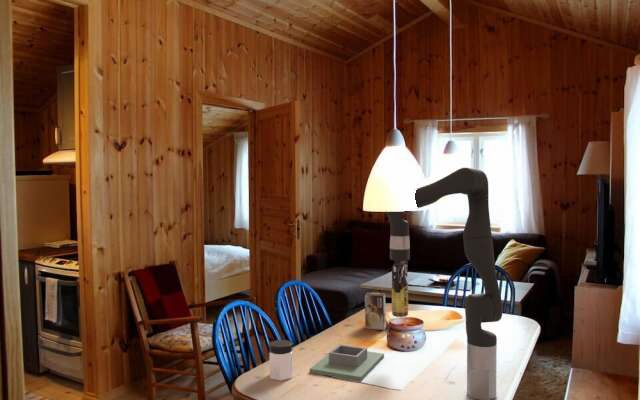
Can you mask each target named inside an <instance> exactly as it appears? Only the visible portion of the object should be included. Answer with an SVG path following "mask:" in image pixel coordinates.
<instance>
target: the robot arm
mask: <svg viewBox="0 0 640 400" xmlns="http://www.w3.org/2000/svg"><path fill="white" fill-rule="evenodd" d="M416 189H417V190H416V193H415V200H416V204H417V207H418V208H417V209H420V208H424V207H426V206H427V207H428V206H430V205H432V204H434V203H436V202H438V201H439V200H440V199H442V198H443V197H446V196H451V195H458V194H462V195H466V196H467V203H468V214H467V215H468V216H467V219H466V221H465V222H466V223H465V225H464V229H463V233H462V234H463V239H462V241H463V248H464V254H465V256H466V258H467V260H468V262H469V263H470V264H471V266H472V267H473V268H474V269H475V271H476V272H477V273H478V276H479V278H480V279H481V281H482V284H483V289H484V292H483V293H471V294H468V295H467V296H466V299H465V302H464V313H465V314H464V315H465V317H464V318H465V333H466V394H467V395H468V396H469V399H474V400H494V399H496V397H497V350H498V349H497V344H498V343H497V342H498V340H497V339H498V338H497V335H496V334H495V333H494V332H493V331H492V332H491V331H490V330H487V329H484V328H483V327H482V323H496V322H499V321H501V319H502V317H503V301H502V297H501V296H502V295H501V292H500V286H499V283H498V276H497V269H496V263H495V253H494V242H493V236H492V235H493V233H492V228H491V227H492V226H491V218H490V217H491V216H490V206H489V205H490V204H489V179H488V177H487V174H486V173H485V172H484V171H483V170H481V169H477V168H474V167H469V166H465V167H461V168H458V169H457V170H454V171H453V172H452V173H450V174H448V175H446V176H445V177H442V178H440V179H438V180H436V181H435V182H432V183H429V184H427V185H423V186H421V187H418V188H416ZM386 212H387V211H386ZM411 212H412V211H404V212H387V213H386V214H387V217H388V221H389V224H390V237H389V238H390V239H389V259H390V260H391V261H394V264H393V265H392V266H391V283H392V282H394V291H395V292H396V293H400V292H401V283H400V282H401V277H403V270H405V271H404V273H405V278H406V279H407V277H408V267H409V266H408V265H409V262H408V261H409V260H410V259H411V257H410V256H411V255H410V254H411V252H410V249H411V247H410V246H411V244H410V243H411V241H410V240H411V239H410V224H409V221H408V220H405V219H404V218H403V214H408V213H411ZM402 264H405V268H404V265H402ZM396 277H397V279H396Z"/></svg>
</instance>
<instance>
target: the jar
mask: <svg viewBox="0 0 640 400" xmlns="http://www.w3.org/2000/svg"><path fill="white" fill-rule="evenodd" d="M268 348H269V379H272V380H275V381H280V382H281V381H285V380H291V379H292V378H293V343H292V341H290V340H287V339H276V340H273V341H271V342H269V347H268Z"/></svg>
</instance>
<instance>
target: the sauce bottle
mask: <svg viewBox="0 0 640 400" xmlns="http://www.w3.org/2000/svg"><path fill="white" fill-rule="evenodd" d="M402 265H404V268H405V264H402ZM404 271H405V270H403V277H401V282H400V283H401V292H400V293H396V292H395V291H394V282H392V281H391V314H392V316H393V317H396V318H397V317H398V318H403V317H407V316H409V284H408V281H407V277H406V278H405V273H404ZM396 279H397V277H396Z"/></svg>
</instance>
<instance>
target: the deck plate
mask: <svg viewBox="0 0 640 400" xmlns="http://www.w3.org/2000/svg"><path fill="white" fill-rule="evenodd" d="M384 358H385V353H381V352H375V351H368V348H367V347H360V346H353V345H346V344H338V345H337V346H336V347H334V348H333V349H332V350H330V351H329V352H328V353H327V354H326V356H324V357H323V358H322V359H320V360H319V361H318V362H316V363H315V364H314V365H313V366H311V367H310V368H309V373H310V374H316V375H321V376H328V377H333V378H340V379H345V380H350V381H351V380H352V381H359V382H362V381H363V380H364V379H365V377H367V376H368V375H369V374H370V373H371V372H372V370H373V369H374V368H376V366H377V365H379V363H380V362H381V361H383V359H384Z"/></svg>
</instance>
